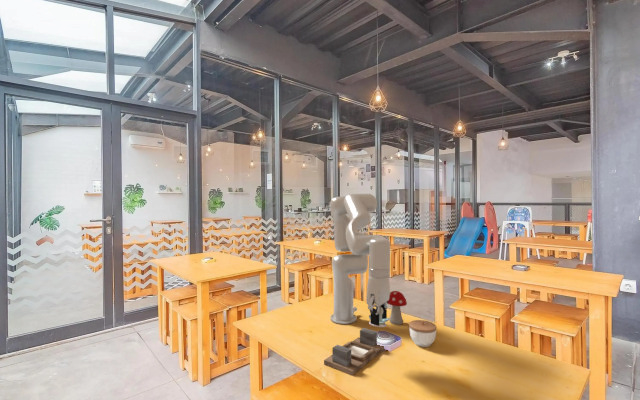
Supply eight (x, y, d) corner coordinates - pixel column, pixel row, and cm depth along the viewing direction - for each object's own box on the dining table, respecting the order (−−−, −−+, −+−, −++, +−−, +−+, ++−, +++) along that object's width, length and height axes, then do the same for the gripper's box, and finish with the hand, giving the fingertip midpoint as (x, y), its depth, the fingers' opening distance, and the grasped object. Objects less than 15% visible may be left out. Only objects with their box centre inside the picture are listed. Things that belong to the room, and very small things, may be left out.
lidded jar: (404, 343, 136) (404, 321, 136) (416, 335, 144) (416, 314, 144) (429, 352, 129) (429, 328, 129) (440, 343, 137) (441, 320, 136)
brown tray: (358, 340, 139) (358, 325, 138) (384, 349, 131) (384, 332, 131) (324, 364, 119) (324, 346, 119) (352, 375, 112) (352, 356, 112)
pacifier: (386, 329, 116) (390, 323, 122) (386, 312, 116) (390, 306, 121) (366, 326, 119) (370, 319, 125) (366, 309, 119) (370, 303, 124)
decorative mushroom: (382, 322, 158) (382, 291, 158) (391, 317, 165) (391, 287, 165) (401, 328, 152) (401, 295, 152) (409, 322, 158) (410, 291, 158)
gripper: (380, 266, 130) (379, 312, 130) (358, 275, 116) (357, 327, 116) (398, 269, 125) (397, 317, 126) (378, 279, 111) (377, 332, 112)
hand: (378, 321), depth 121 cm, fingers closed on pacifier, 5 cm apart
